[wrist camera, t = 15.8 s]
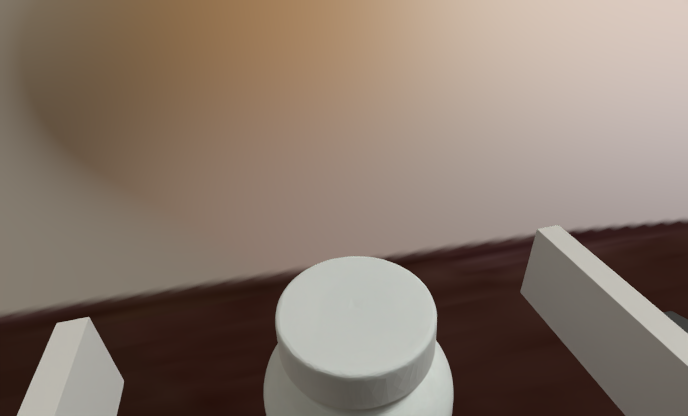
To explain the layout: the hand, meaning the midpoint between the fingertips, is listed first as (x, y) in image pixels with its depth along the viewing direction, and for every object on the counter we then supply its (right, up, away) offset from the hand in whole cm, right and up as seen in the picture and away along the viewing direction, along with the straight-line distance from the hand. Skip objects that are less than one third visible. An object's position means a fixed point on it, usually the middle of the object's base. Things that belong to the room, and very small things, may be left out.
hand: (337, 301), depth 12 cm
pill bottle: (+1, -8, +3) cm, 8 cm away
